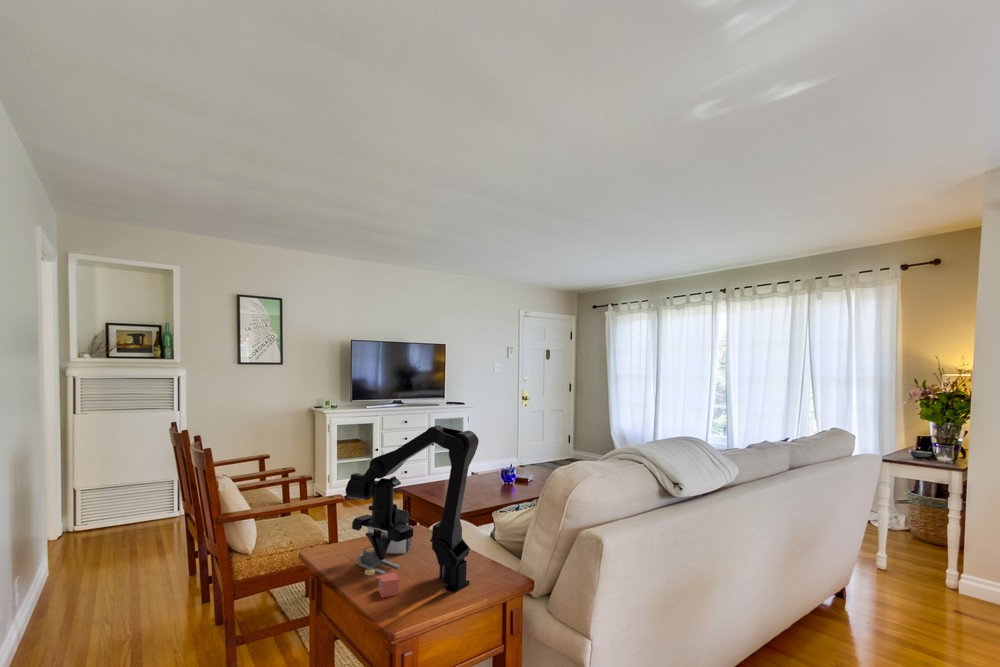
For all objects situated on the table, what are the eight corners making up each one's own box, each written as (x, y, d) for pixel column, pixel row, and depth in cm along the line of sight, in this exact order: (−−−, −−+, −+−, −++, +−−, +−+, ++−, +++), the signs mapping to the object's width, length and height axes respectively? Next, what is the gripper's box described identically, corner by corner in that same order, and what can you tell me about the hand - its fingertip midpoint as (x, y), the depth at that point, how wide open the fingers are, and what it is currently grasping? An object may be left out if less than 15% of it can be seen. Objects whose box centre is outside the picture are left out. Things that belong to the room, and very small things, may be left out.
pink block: (394, 593, 124) (395, 572, 124) (398, 600, 120) (398, 579, 120) (378, 596, 122) (378, 575, 122) (381, 603, 118) (382, 581, 118)
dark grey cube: (382, 563, 138) (382, 548, 138) (372, 567, 135) (373, 552, 135) (372, 560, 140) (373, 545, 140) (362, 564, 137) (363, 549, 137)
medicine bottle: (406, 558, 145) (407, 516, 146) (382, 557, 145) (383, 515, 146) (411, 548, 152) (412, 509, 153) (388, 548, 153) (389, 508, 153)
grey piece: (410, 576, 133) (410, 562, 133) (384, 588, 126) (385, 573, 126) (372, 562, 142) (373, 549, 142) (346, 572, 134) (347, 559, 135)
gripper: (427, 500, 138) (426, 558, 137) (381, 490, 148) (380, 543, 147) (398, 509, 129) (397, 571, 128) (351, 498, 139) (350, 555, 138)
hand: (381, 559), depth 136 cm, fingers closed
